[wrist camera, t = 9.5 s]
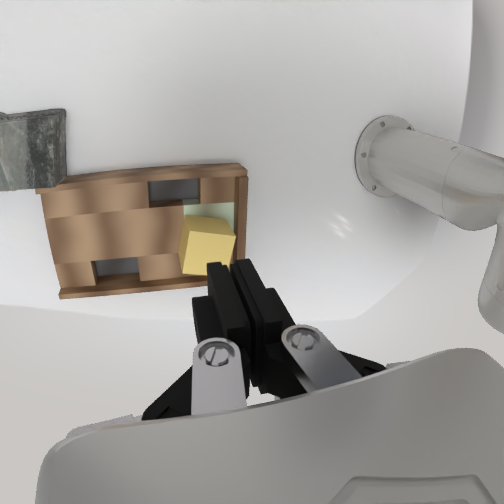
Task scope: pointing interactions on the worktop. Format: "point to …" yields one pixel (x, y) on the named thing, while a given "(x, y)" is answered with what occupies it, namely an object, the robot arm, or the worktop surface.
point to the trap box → (137, 225)
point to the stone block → (32, 150)
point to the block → (204, 243)
